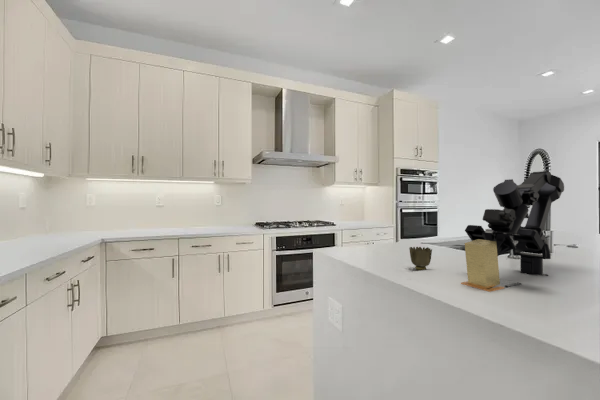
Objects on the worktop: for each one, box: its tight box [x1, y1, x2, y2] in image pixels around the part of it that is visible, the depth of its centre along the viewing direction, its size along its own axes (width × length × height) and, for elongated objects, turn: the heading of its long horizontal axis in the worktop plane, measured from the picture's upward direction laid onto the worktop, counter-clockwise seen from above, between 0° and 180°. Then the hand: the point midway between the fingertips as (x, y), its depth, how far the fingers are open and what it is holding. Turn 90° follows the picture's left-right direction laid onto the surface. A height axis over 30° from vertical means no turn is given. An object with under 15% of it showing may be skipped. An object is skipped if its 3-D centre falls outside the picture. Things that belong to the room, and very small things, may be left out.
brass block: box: [464, 239, 501, 289], centre depth 78 cm, size 6×5×12 cm
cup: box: [408, 246, 433, 272], centre depth 100 cm, size 8×7×8 cm
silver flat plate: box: [460, 278, 523, 293], centre depth 80 cm, size 15×8×1 cm, turn 115°
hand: (488, 258), depth 79 cm, fingers closed, pressing on brass block
